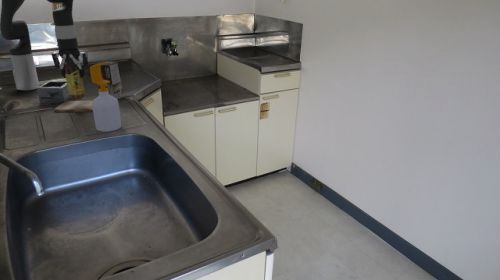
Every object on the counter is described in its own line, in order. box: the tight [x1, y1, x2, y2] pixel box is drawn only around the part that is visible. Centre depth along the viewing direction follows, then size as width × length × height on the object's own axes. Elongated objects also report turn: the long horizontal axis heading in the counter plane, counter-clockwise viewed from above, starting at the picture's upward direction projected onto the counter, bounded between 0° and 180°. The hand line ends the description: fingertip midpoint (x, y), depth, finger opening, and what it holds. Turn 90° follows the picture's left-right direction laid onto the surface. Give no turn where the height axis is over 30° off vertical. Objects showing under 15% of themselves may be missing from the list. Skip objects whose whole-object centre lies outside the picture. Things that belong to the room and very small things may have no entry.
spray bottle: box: [89, 61, 122, 133], centre depth 139 cm, size 9×9×25 cm
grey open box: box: [36, 80, 71, 104], centre depth 173 cm, size 11×16×7 cm
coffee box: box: [94, 60, 125, 100], centre depth 176 cm, size 9×6×16 cm
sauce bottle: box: [65, 51, 85, 100], centre depth 160 cm, size 6×6×20 cm
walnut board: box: [54, 100, 93, 113], centre depth 165 cm, size 16×12×1 cm
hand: (73, 77), depth 160 cm, fingers closed on sauce bottle, 6 cm apart
